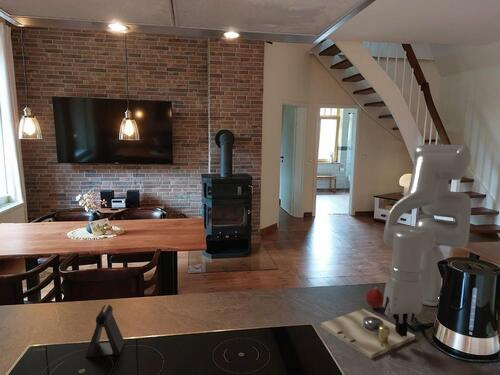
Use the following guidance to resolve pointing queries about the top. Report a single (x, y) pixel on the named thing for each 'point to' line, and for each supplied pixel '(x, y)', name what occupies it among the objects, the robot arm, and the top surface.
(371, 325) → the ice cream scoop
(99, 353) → the dark triangular stand
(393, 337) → the stand board
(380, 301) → the onion
